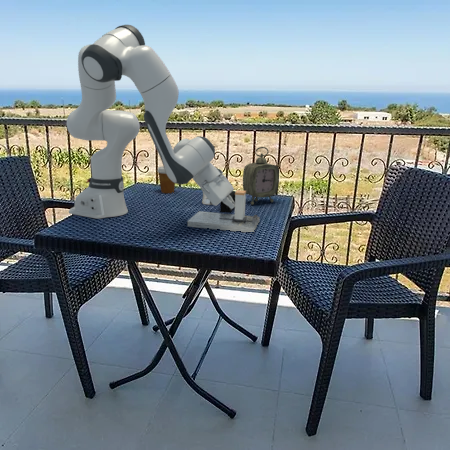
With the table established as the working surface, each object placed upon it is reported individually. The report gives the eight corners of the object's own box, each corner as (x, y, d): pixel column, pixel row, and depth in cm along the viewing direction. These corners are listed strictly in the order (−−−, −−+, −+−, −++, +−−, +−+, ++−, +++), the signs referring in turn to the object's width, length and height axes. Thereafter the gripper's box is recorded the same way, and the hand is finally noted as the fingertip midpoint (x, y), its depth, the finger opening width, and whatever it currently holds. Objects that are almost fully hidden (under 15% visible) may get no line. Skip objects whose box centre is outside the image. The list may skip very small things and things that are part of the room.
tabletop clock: (250, 206, 169) (253, 148, 162) (239, 201, 177) (242, 146, 169) (277, 203, 176) (281, 147, 169) (265, 198, 184) (268, 145, 176)
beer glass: (216, 205, 169) (217, 171, 165) (200, 204, 169) (200, 170, 165) (216, 201, 176) (217, 168, 171) (201, 200, 176) (201, 168, 172)
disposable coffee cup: (155, 193, 187) (154, 168, 184) (161, 189, 196) (161, 165, 193) (174, 194, 186) (173, 169, 182) (179, 190, 195) (179, 166, 191)
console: (187, 226, 140) (187, 215, 139) (199, 216, 153) (199, 206, 152) (253, 233, 135) (253, 222, 133) (259, 221, 148) (260, 211, 146)
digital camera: (233, 213, 158) (233, 196, 156) (220, 212, 159) (220, 195, 157) (237, 207, 168) (237, 191, 166) (224, 206, 169) (225, 190, 167)
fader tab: (231, 220, 140) (232, 192, 137) (234, 217, 144) (235, 189, 141) (245, 221, 139) (246, 193, 136) (247, 218, 143) (248, 190, 140)
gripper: (206, 177, 129) (234, 208, 130) (221, 168, 148) (245, 195, 149) (193, 189, 131) (220, 220, 132) (210, 179, 150) (233, 205, 151)
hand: (234, 207), depth 141 cm, fingers closed, pressing on fader tab
